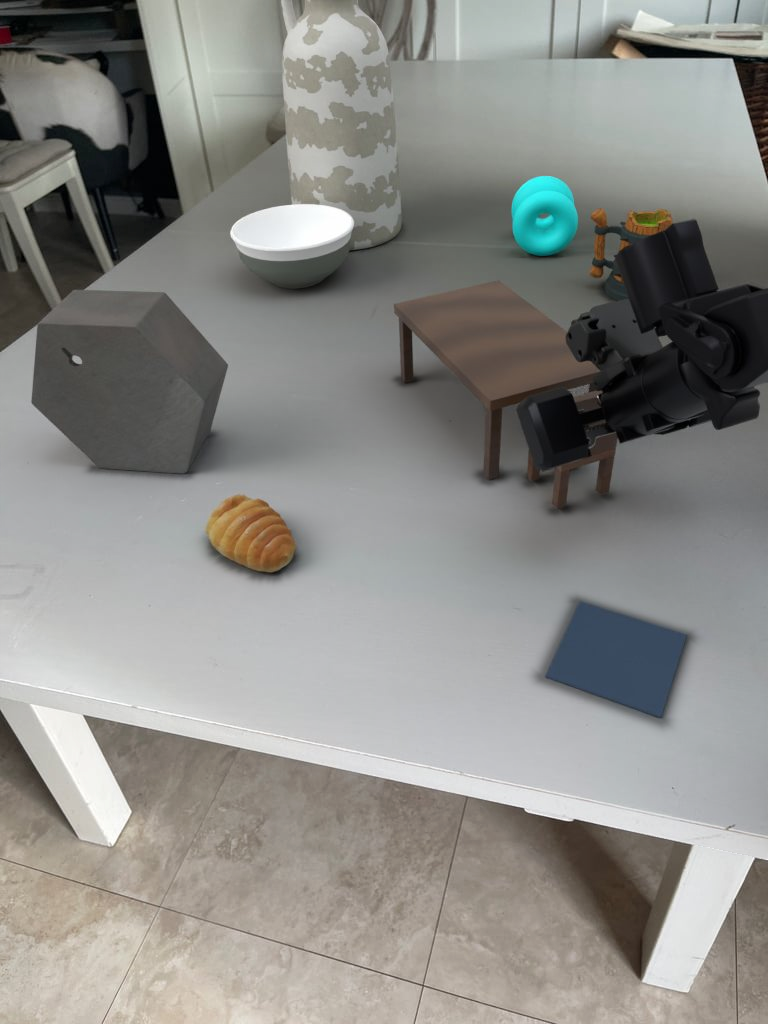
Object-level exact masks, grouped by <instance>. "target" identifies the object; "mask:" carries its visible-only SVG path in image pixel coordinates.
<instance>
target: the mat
mask: <svg viewBox="0 0 768 1024" xmlns="http://www.w3.org/2000/svg"><path fill="white" fill-rule="evenodd" d="M687 636H688V635H687V634H685V633H683V632H680V631H677V630H673V629H671V628H670V629H669V628H667V627H663V626H660V625H657V624H655V623H654V624H653V623H650V622H648V621H644V620H641V619H639V618H635V617H631V616H628V615H625V614H622V613H619V612H615V611H613V610H610V609H606V608H603V607H599V606H597V605H593V604H590V603H587V602H583V601H579V603H578V605H577V607H576V609H575V611H574V613H573V615H572V618H571V620H570V622H569V624H568V626H567V628H566V630H565V633H564V635H563V637H562V639H561V641H560V643H559V646H558V648H557V650H556V652H555V654H554V656H553V659H552V661H551V663H550V665H549V667H548V669H547V671H546V673H545V678H547V679H550V680H553V681H556V682H559V683H561V684H564V685H567V686H569V687H572V688H575V689H578V690H581V691H583V692H585V693H589V694H592V695H595V696H598V697H601V698H603V699H605V700H609V701H612V702H614V703H617V704H620V705H623V706H625V707H628V708H631V709H634V710H637V711H639V712H642V713H645V714H647V715H651V716H653V717H656V718H659V719H661V718H662V715H663V713H664V709H665V706H666V703H667V699H668V696H669V693H670V690H671V687H672V684H673V680H674V677H675V675H676V672H677V668H678V665H679V661H680V658H681V656H682V655H681V654H682V652H683V648H684V646H685V641H686V639H687Z"/></svg>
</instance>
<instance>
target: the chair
mask: <svg viewBox="0 0 768 1024" xmlns="http://www.w3.org/2000/svg"><path fill="white" fill-rule="evenodd" d="M601 393H602V390H601V391H593V392H589V393H588V392H586V393H582V394H579V395H574V396H573V398H574V401H575V404H576V407H577V410H578V411H579V410H582V409H584V412H588V411H591V410H595V409H598V408H601V406H599V404H598V402H597V399H596V396H597V395H599V394H601ZM603 423H604V424H605V423H607V422H606V421H602V422H599V423H595V424H592V425H589V427H592V428H593V427H594V426H597V425H601V424H603ZM617 444H618V437H617V434H616V433H612V434H609V435H606V436H602V437H599V438H596V443H595V445H594V446H593V447H592V448H590V452H591V455H592V456H591V457H588V458H585V459H581V460H579V461H576V462H573V463H570V464H567V465H564V466H560V467H557V468H555V472H554V481H553V493H552V501H551V504H552V505H553V506H554V508H555V509H557V510H559V509H562V508H566V506H567V498H568V491H569V490H568V489H569V481H570V475H571V474H570V473H571V470H573V469H576V468H581V467H583V466H587V465H591V464H593V463H596V462H598V469H597V475H596V482H595V491H596V493H598V494H599V495H600V496H602V495H606V494H609V493H610V489H611V488H610V487H611V482H612V481H611V480H612V476H613V468H614V463H615V456H616V451H617ZM527 452H528V455H527V465H526V466H527V467H526V478H528V480H529V481H530V482H534V481H537V480H540V479H541V478H540V477H541V470H539V469H537V468H536V467H535V466H534V463H533V460H532V457H531V454H530V451H529V450H528V451H527Z"/></svg>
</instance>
